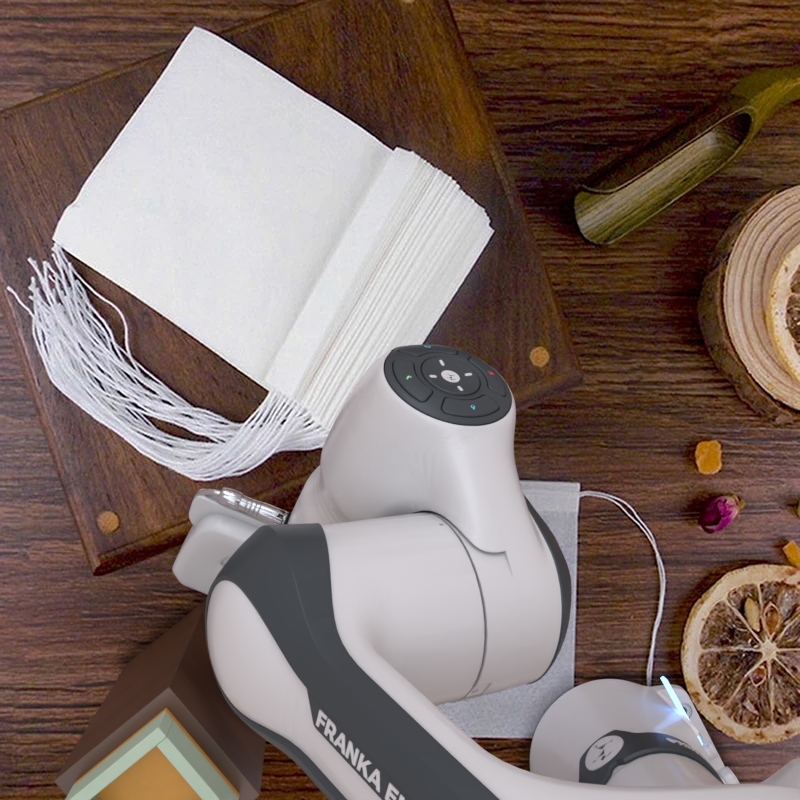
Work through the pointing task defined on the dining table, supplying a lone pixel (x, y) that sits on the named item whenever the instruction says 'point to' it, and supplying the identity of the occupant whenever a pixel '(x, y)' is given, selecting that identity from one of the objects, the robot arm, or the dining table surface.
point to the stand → (172, 709)
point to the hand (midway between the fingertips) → (295, 648)
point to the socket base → (155, 768)
